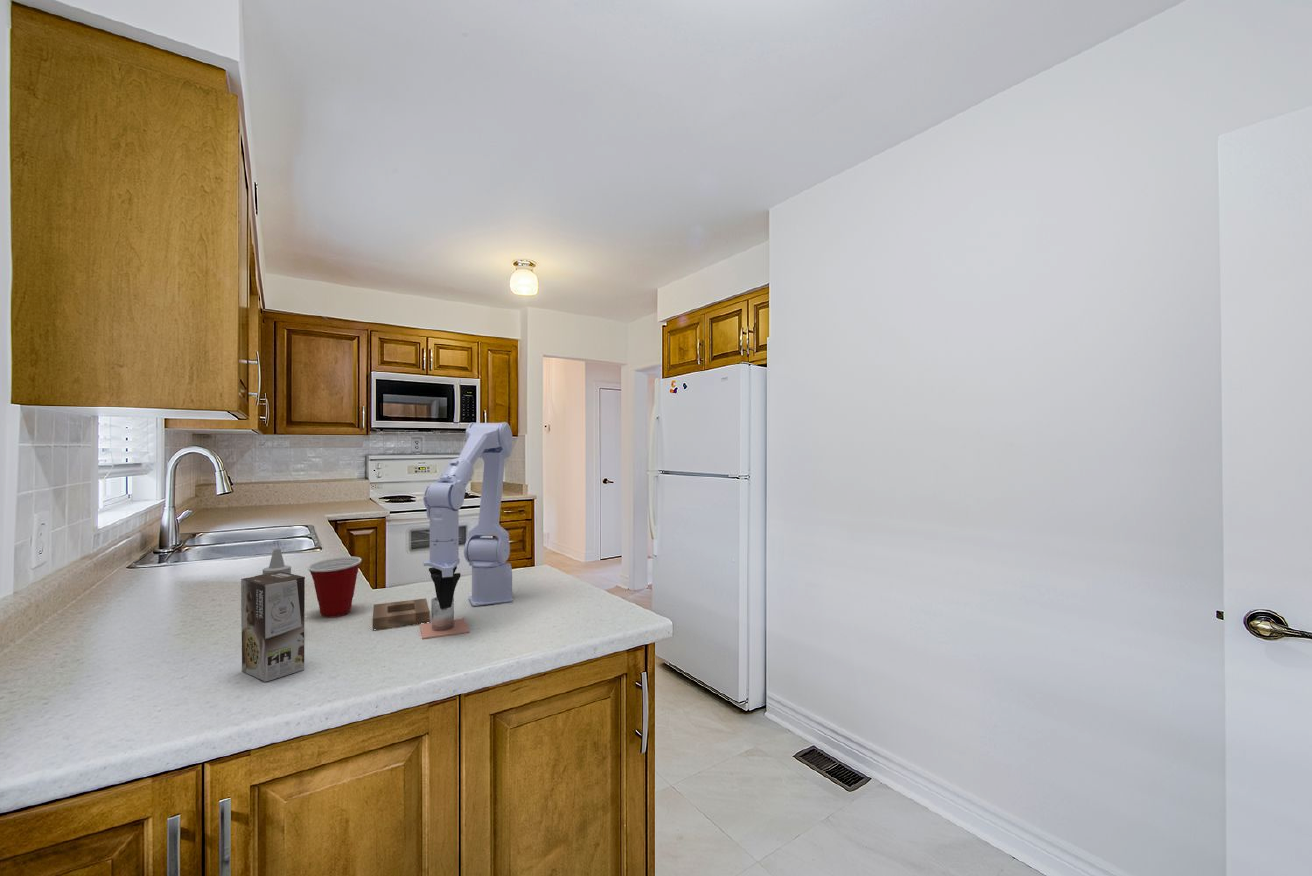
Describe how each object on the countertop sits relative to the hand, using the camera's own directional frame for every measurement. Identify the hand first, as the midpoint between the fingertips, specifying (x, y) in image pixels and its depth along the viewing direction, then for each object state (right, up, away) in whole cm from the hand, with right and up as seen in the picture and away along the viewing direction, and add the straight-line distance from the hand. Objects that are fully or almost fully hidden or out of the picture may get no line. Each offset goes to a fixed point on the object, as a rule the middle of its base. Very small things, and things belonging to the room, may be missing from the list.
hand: (444, 604), depth 116 cm
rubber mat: (0, -5, 0) cm, 5 cm away
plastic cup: (-29, -6, +10) cm, 31 cm away
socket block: (-12, -5, +6) cm, 15 cm away
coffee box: (-22, -5, -21) cm, 30 cm away
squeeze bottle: (-31, -6, -6) cm, 32 cm away
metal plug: (0, -5, 0) cm, 5 cm away
